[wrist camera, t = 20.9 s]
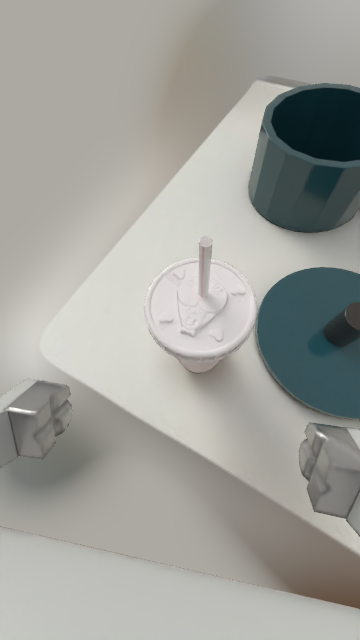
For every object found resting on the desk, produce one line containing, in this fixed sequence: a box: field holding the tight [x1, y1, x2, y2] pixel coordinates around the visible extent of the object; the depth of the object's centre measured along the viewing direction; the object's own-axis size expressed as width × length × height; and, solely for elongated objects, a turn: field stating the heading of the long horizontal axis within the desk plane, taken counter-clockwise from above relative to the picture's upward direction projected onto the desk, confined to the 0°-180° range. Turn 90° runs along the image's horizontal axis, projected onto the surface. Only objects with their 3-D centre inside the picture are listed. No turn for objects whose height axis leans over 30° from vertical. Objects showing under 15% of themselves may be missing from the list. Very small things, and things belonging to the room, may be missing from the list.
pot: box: [249, 83, 360, 232], centre depth 27 cm, size 13×13×8 cm
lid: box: [256, 267, 360, 419], centre depth 21 cm, size 14×14×5 cm
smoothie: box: [144, 236, 257, 373], centre depth 17 cm, size 6×6×14 cm
